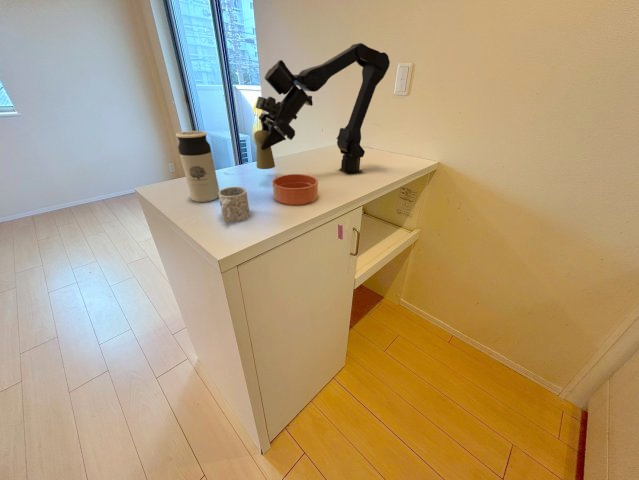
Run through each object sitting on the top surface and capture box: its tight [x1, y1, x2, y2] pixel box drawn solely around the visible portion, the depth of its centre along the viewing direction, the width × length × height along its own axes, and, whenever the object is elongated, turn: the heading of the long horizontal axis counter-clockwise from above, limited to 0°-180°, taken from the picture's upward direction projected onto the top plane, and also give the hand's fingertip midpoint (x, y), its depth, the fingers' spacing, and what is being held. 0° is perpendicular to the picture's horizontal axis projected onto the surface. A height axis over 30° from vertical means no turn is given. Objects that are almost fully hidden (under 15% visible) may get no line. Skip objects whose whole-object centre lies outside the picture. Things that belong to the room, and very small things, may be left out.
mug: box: [218, 186, 251, 224], centre depth 64 cm, size 10×7×7 cm, turn 174°
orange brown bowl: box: [272, 173, 319, 206], centre depth 77 cm, size 13×13×5 cm
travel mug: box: [175, 130, 220, 203], centre depth 72 cm, size 8×8×18 cm
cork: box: [253, 129, 276, 170], centre depth 82 cm, size 6×6×11 cm
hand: (259, 147), depth 81 cm, fingers closed on cork, 5 cm apart
